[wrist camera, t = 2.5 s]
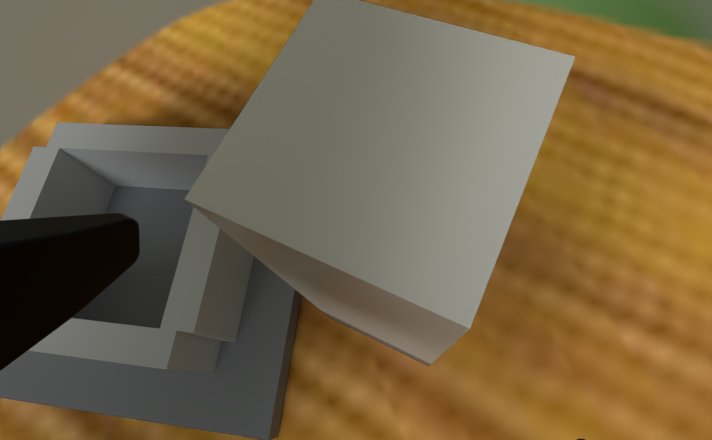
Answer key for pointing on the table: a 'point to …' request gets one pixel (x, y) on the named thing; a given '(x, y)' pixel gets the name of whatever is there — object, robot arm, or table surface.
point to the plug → (385, 167)
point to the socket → (157, 292)
